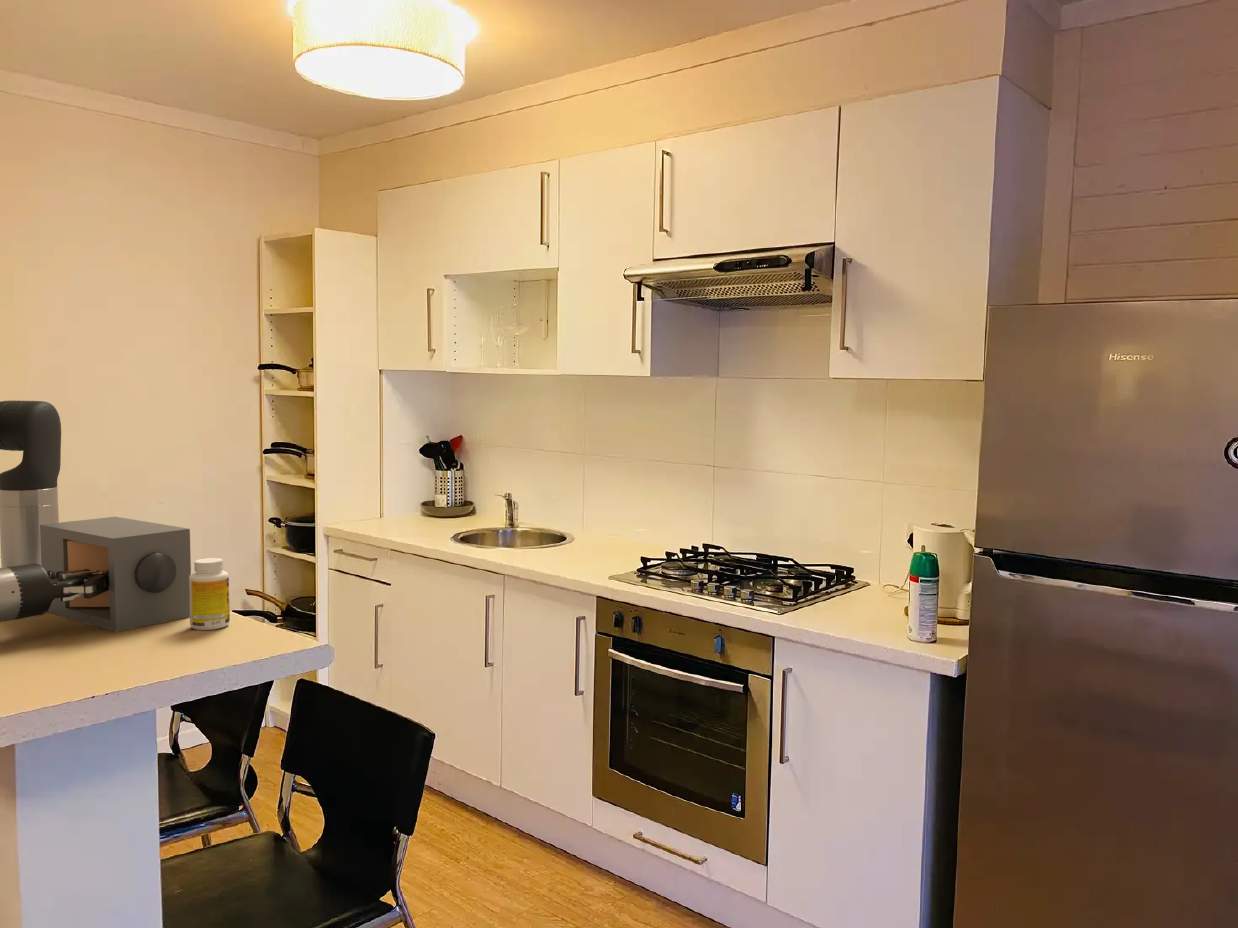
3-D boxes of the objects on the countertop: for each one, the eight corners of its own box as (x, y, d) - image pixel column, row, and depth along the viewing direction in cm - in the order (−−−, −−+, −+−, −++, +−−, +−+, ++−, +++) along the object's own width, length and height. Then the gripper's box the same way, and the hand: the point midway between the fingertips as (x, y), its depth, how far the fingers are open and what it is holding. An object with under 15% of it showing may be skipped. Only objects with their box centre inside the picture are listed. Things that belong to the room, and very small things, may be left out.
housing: (43, 610, 149) (39, 524, 148) (117, 597, 159) (115, 516, 158) (119, 633, 137) (116, 539, 135) (195, 617, 147) (193, 529, 145)
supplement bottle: (234, 627, 141) (233, 561, 140) (195, 633, 137) (194, 565, 136) (223, 620, 145) (222, 555, 144) (185, 625, 141) (184, 559, 141)
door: (67, 607, 144) (65, 541, 143) (72, 605, 146) (70, 539, 145) (148, 607, 145) (146, 541, 144) (153, 605, 146) (151, 540, 146)
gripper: (27, 573, 126) (151, 555, 140) (-18, 562, 133) (105, 546, 147) (29, 627, 126) (152, 604, 141) (-16, 613, 134) (106, 592, 148)
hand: (127, 574), depth 144 cm, fingers closed
